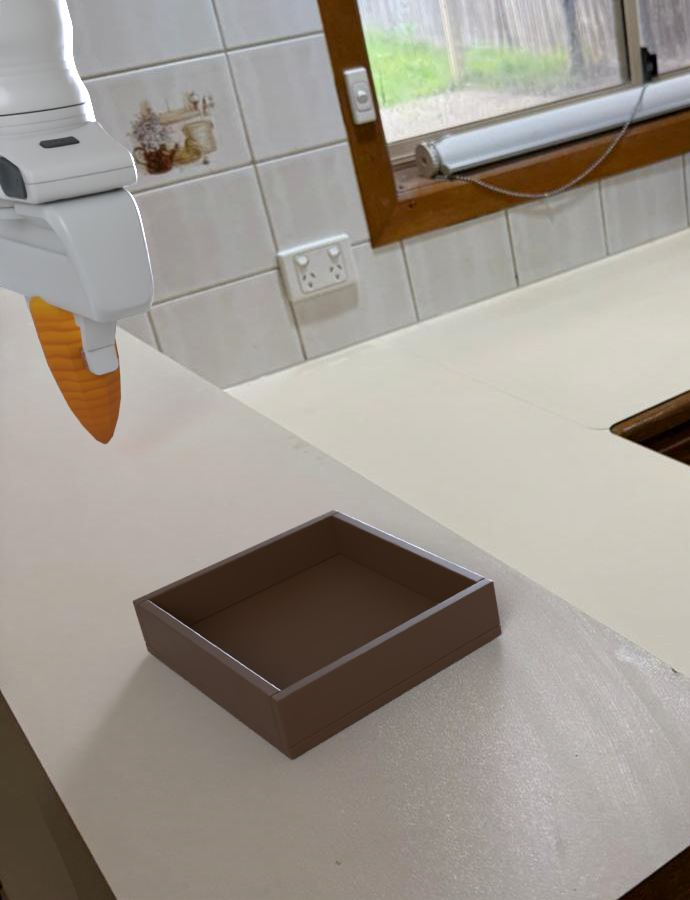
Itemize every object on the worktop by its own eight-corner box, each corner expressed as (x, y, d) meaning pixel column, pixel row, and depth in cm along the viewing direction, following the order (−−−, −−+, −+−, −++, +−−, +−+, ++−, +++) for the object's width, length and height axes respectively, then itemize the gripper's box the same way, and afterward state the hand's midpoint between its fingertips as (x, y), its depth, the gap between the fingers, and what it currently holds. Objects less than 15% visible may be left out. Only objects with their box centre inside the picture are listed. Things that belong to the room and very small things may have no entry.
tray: (147, 651, 59) (131, 600, 58) (344, 555, 67) (334, 508, 65) (291, 760, 50) (276, 702, 48) (502, 634, 57) (493, 580, 56)
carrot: (116, 425, 83) (62, 221, 77) (157, 436, 80) (104, 225, 75) (53, 450, 80) (-9, 237, 74) (93, 462, 77) (32, 242, 71)
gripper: (-77, 156, 77) (-18, 350, 83) (38, 176, 63) (100, 407, 69) (18, 141, 81) (69, 327, 87) (146, 157, 67) (197, 376, 73)
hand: (84, 363), depth 78 cm, fingers closed on carrot, 5 cm apart
